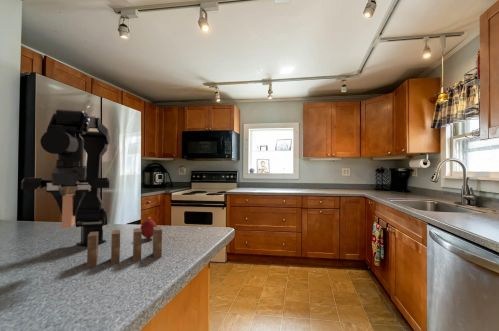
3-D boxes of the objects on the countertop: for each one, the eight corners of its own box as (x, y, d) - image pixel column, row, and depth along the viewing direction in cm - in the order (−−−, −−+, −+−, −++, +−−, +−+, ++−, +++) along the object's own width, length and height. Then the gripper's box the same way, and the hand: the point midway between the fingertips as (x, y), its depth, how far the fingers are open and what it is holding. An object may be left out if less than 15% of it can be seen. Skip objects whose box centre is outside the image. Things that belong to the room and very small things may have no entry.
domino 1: (87, 267, 67) (87, 236, 67) (89, 261, 71) (90, 232, 71) (95, 265, 68) (96, 235, 68) (97, 260, 72) (98, 231, 72)
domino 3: (133, 261, 72) (133, 232, 72) (133, 255, 76) (133, 228, 76) (141, 260, 72) (141, 231, 73) (140, 254, 77) (140, 228, 77)
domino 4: (154, 258, 74) (154, 230, 74) (152, 253, 78) (153, 227, 79) (161, 257, 75) (162, 229, 75) (159, 252, 79) (160, 226, 79)
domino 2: (111, 263, 69) (111, 234, 69) (111, 258, 74) (112, 230, 74) (119, 262, 70) (119, 233, 70) (119, 257, 74) (120, 229, 75)
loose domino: (61, 227, 65) (62, 196, 65) (66, 224, 69) (66, 194, 69) (71, 227, 66) (72, 195, 66) (74, 223, 70) (75, 194, 70)
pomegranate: (151, 241, 92) (151, 218, 92) (136, 240, 93) (137, 218, 93) (159, 237, 98) (160, 216, 98) (146, 236, 99) (146, 215, 99)
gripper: (12, 153, 57) (10, 224, 56) (108, 156, 65) (107, 218, 64) (30, 156, 67) (28, 216, 66) (111, 158, 75) (109, 212, 74)
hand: (68, 216), depth 67 cm, fingers closed on loose domino, 2 cm apart
